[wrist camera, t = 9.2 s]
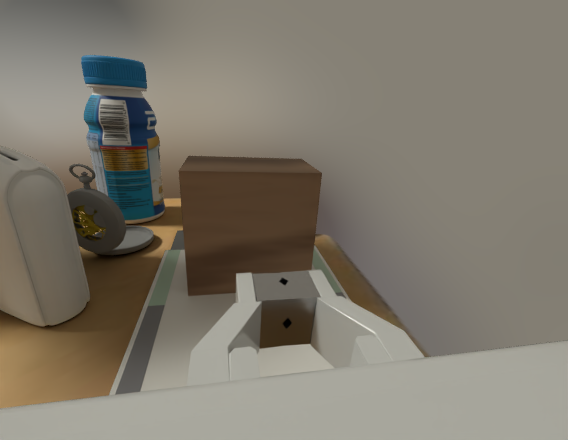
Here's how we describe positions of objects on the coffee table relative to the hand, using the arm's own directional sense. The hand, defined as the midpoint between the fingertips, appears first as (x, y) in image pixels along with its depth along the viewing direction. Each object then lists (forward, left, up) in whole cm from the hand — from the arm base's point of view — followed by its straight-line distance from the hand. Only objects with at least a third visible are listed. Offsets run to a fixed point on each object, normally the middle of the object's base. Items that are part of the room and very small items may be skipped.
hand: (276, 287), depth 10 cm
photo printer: (-22, -5, -10) cm, 25 cm away
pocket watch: (-27, +3, -10) cm, 29 cm away
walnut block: (-11, +9, -8) cm, 17 cm away
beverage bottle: (-36, +9, -10) cm, 39 cm away
